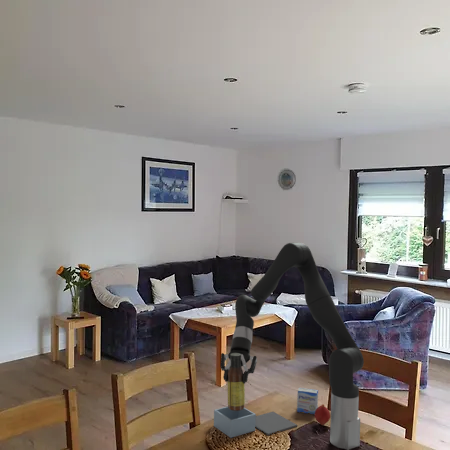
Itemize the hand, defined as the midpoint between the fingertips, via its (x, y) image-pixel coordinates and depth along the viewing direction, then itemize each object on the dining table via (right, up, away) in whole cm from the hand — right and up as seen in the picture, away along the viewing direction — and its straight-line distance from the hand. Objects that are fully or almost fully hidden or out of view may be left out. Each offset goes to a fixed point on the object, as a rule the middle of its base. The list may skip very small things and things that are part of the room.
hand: (234, 381), depth 171 cm
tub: (0, -18, +2) cm, 18 cm away
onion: (+33, -19, +6) cm, 39 cm away
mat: (+14, -18, +7) cm, 24 cm away
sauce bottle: (0, -11, +2) cm, 11 cm away
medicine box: (+30, -18, +19) cm, 40 cm away
